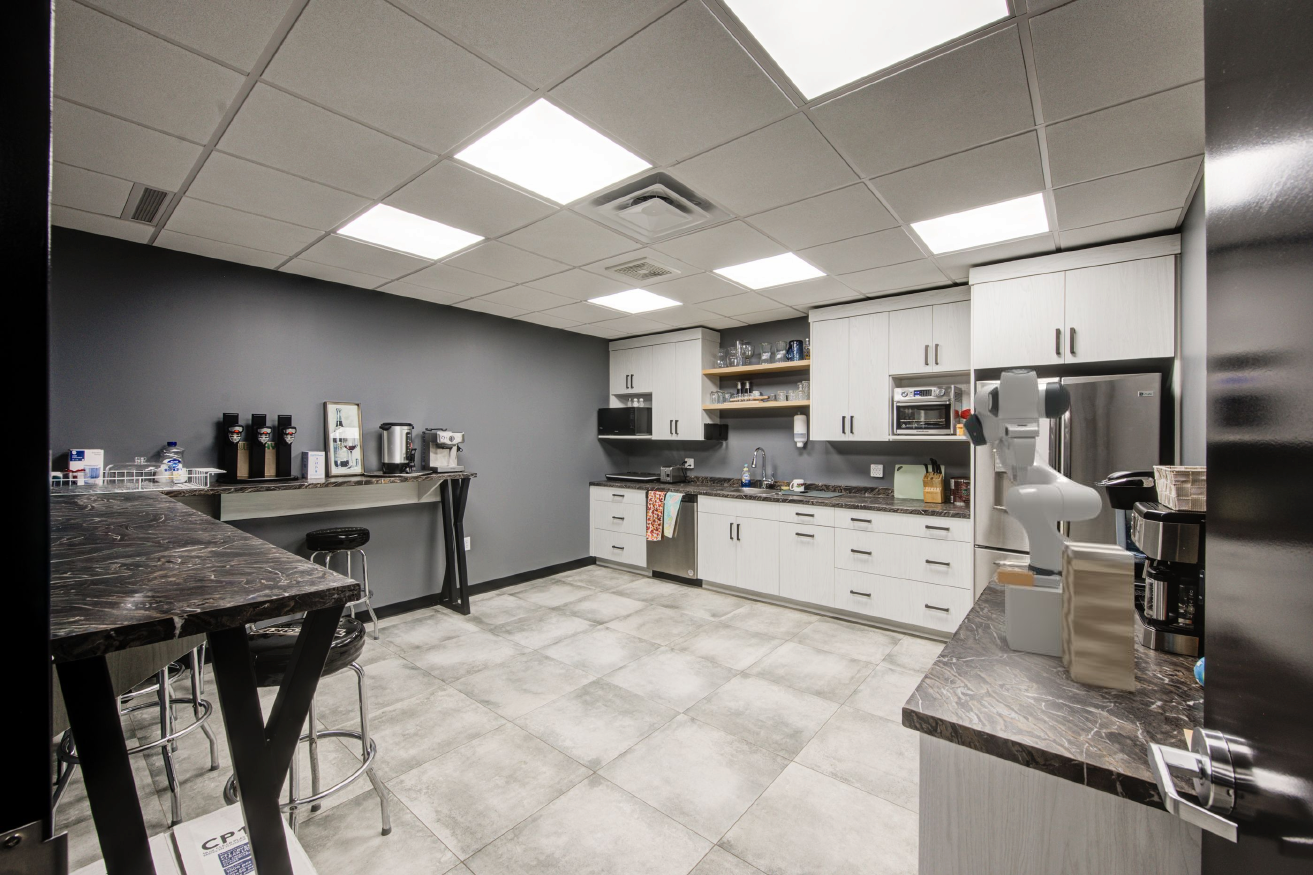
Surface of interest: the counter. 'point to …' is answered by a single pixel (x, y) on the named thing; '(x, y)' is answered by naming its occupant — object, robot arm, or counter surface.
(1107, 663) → the socket tower
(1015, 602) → the pedestal
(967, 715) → the counter surface
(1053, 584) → the plug
